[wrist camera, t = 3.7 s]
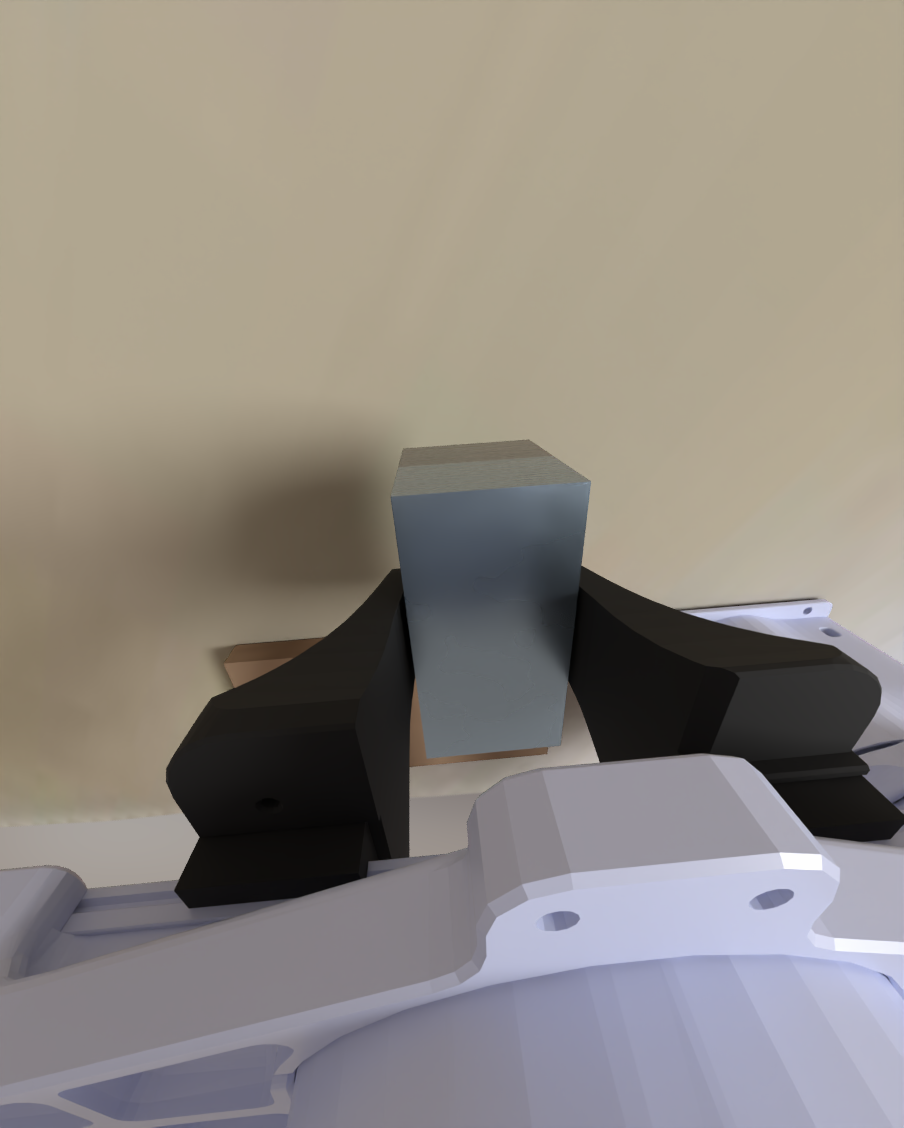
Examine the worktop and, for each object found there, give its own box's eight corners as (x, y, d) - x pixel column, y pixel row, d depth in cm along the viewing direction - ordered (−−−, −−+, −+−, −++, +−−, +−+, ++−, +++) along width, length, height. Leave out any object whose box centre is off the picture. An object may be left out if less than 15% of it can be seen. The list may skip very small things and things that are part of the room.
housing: (529, 439, 12) (591, 481, 8) (521, 638, 16) (560, 745, 11) (403, 448, 12) (390, 496, 7) (425, 647, 16) (426, 758, 11)
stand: (550, 619, 22) (558, 635, 20) (541, 734, 26) (547, 754, 25) (236, 645, 21) (223, 663, 20) (283, 758, 26) (275, 779, 25)
